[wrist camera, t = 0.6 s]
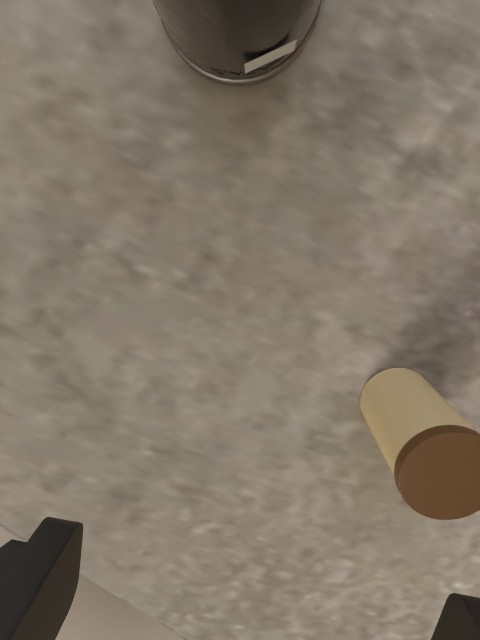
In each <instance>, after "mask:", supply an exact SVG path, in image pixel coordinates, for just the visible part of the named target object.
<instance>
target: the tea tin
mask: <svg viewBox="0 0 480 640" xmlns="http://www.w3.org/2000/svg"><path fill="white" fill-rule="evenodd" d="M360 407H361V411H362V414H363V416H364V418H365V420H366V422H367V424H368V426H369V428H370V430H371V432H372V434H373V435H374V437H375V439H376V441H377V443H378V445H379V447H380V449H381V451H382V453H383V455H384V457H385V459H386V461H387V463H388V465H389V467H390V469H391V471H392V473H393V475H394V477H395V482H396V485H397V487H398V489H399V491H400V493H401V495H402V497H403V499H404V500H405V502H406V503H407V504H408V505H409V506H410V507H411V508H412V509H413V510H415V511H416V512H418V513H420V514H422V515H424V516H427V517H430V518H434V519H441V520H451V519H458V518H462V517H466V516H469V515H471V514H473V513H475V512H477V511H479V510H480V434H479V433H478V432H476V431H475V430H474V429H473V428H472V427H471V426H470V425H469V424H468V423H467V422H466V421H465V420H464V419H463V418H462V417H461V416H460V415H459V414H458V413H457V411H456V410H455V409H454V408H453V407H452V406H451V405H450V404H449V403H448V402H447V401H446V400H445V399H444V398H443V397H442V396H441V395H440V394H439V393H438V392H437V391H436V390H435V389H434V388H433V387H432V386H431V385H430V384H429V383H428V382H427V381H426V380H425V379H424V378H423V377H422V376H421V375H420V374H418V373H417V372H415V371H413V370H410V369H406V368H391V369H387V370H384V371H381V372H379V373H378V374H376V375H374V376H373V377H372V378H371V379H370V380H369V381H368V382H367V383H366V385H365V386H364V388H363V390H362V393H361V397H360Z"/></svg>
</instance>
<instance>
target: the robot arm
mask: <svg viewBox="0 0 480 640" xmlns="http://www.w3.org/2000/svg"><path fill="white" fill-rule="evenodd" d="M152 1H153V4H154V6H155V8H156V9H157V11H158V13H159V15H160V17H161V20H162V23H163V26H164V28H165V31H166V33H167V35H168V37H169V39H170V41H171V43H172V44H173V46H174V48H175V49H176V51H177V52H178V53H179V55H180V56H181V57H182V59H183V60H184V61H185V62H186V63H187V64H188V65H189V66H190V67H191V68H192V69H194V70H195V71H196V72H198V73H199V74H201V75H203V76H204V77H206V78H208V79H210V80H212V81H215V82H218V83H222V84H226V85H235V86H242V85H251V84H255V83H259V82H262V81H265V80H267V79H269V78H271V77H273V76H275V75H276V74H278V73H279V72H281V71H282V70H284V69H285V68H286V67H287V66H288V65H289V64H290V63H292V61H293V60H294V59H295V58H296V57H297V56H298V55H299V53H300V52H301V51H302V49H303V48H304V46H305V44H306V43H307V41H308V39H309V37H310V35H311V33H312V31H313V28H314V26H315V22H316V19H317V16H318V13H319V9H320V4H321V0H152ZM82 537H83V524H82V523H79V522H73V521H68V520H63V519H57V518H52V517H46V518H45V519H44V520H43V521H42V522H41V524H40V525H39V526H38V528H37V529H36V531H35V532H34V533H33V535H32V536H31V538H30V539H29V540H28V542H22V541H17V540H11V541H9V542H8V543H6V544H5V545H3V546H2V547H1V548H0V640H55V639H56V637H57V635H58V632H59V630H60V628H61V626H62V624H63V622H64V620H65V618H66V616H67V614H68V612H69V609H70V607H71V604H72V601H73V598H74V595H75V592H76V588H77V584H78V579H79V569H80V558H81V548H82ZM431 640H480V598H477V597H472V596H467V595H461V594H456V593H453V594H451V595H449V597H448V598H447V600H446V603H445V605H444V608H443V610H442V613H441V616H440V618H439V621H438V623H437V626H436V628H435V631H434V633H433V636H432V639H431Z"/></svg>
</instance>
